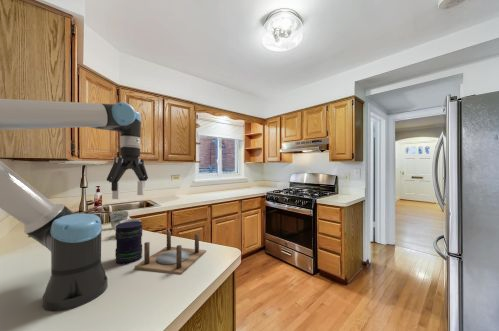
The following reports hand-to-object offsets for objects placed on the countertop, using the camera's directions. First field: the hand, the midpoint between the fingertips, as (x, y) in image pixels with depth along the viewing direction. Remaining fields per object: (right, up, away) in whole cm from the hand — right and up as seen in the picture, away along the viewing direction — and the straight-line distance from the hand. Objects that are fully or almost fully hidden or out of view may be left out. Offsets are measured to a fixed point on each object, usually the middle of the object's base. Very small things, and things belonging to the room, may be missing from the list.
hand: (129, 197), depth 88 cm
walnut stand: (+20, -26, -2) cm, 33 cm away
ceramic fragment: (-34, -27, +46) cm, 63 cm away
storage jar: (+1, -27, -1) cm, 27 cm away
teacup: (-19, -27, +30) cm, 45 cm away
